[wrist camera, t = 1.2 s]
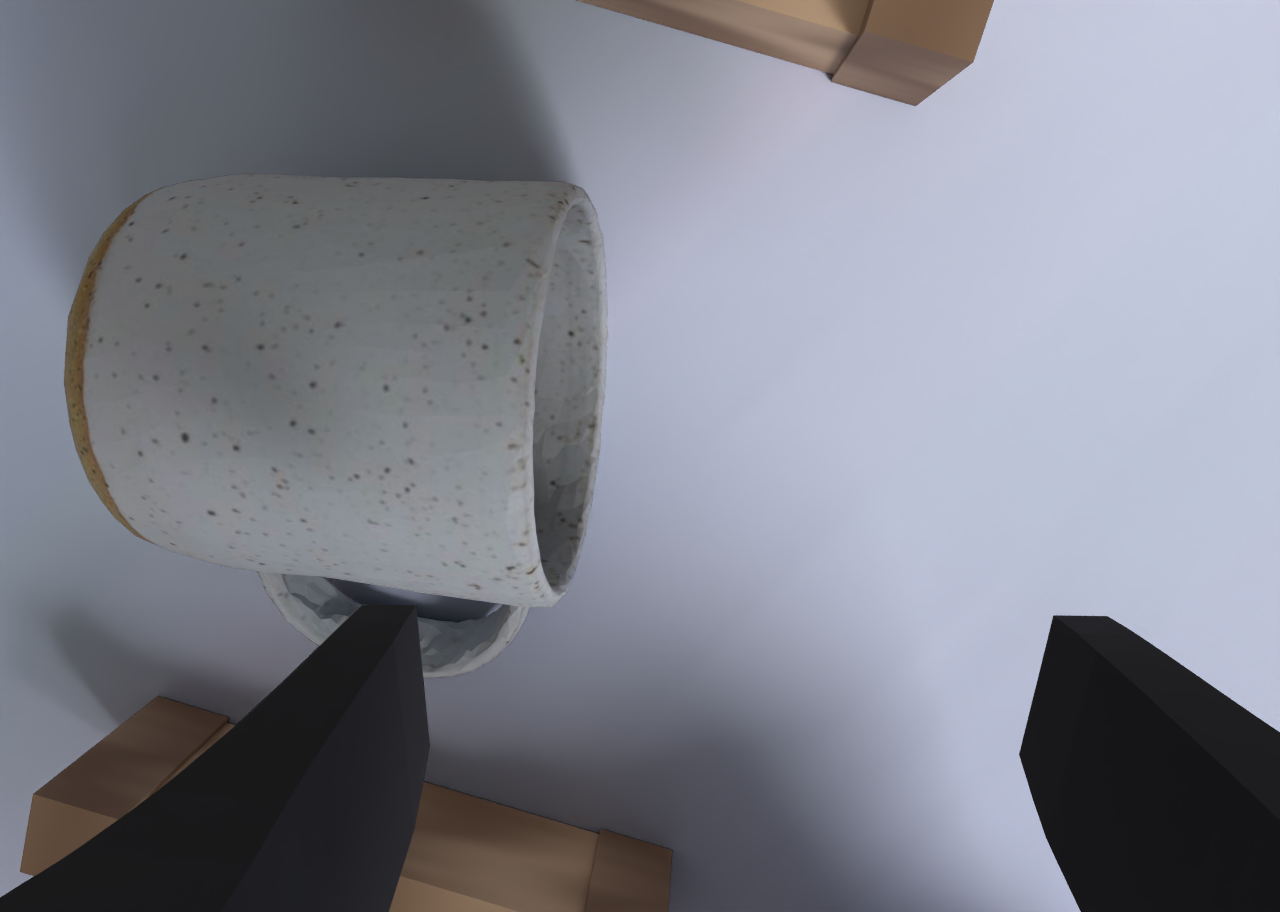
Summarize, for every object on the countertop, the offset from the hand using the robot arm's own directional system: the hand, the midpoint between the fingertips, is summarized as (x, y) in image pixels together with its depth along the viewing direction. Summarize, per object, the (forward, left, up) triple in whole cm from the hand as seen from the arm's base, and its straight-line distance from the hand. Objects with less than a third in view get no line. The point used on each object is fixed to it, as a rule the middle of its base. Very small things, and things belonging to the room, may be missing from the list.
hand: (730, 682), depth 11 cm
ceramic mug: (+6, +1, -11) cm, 13 cm away
